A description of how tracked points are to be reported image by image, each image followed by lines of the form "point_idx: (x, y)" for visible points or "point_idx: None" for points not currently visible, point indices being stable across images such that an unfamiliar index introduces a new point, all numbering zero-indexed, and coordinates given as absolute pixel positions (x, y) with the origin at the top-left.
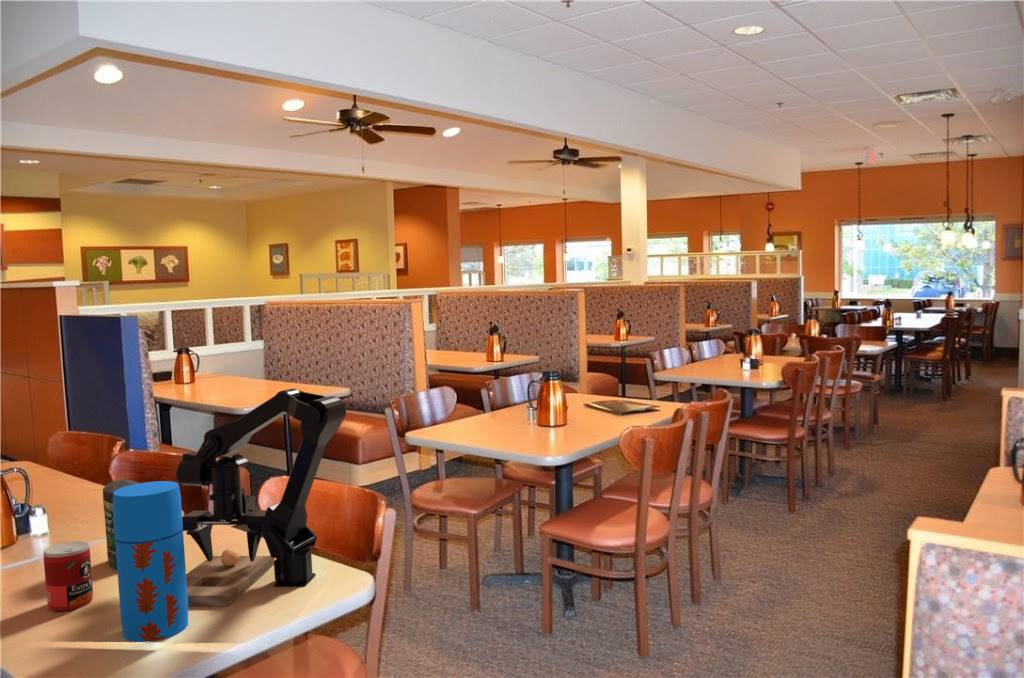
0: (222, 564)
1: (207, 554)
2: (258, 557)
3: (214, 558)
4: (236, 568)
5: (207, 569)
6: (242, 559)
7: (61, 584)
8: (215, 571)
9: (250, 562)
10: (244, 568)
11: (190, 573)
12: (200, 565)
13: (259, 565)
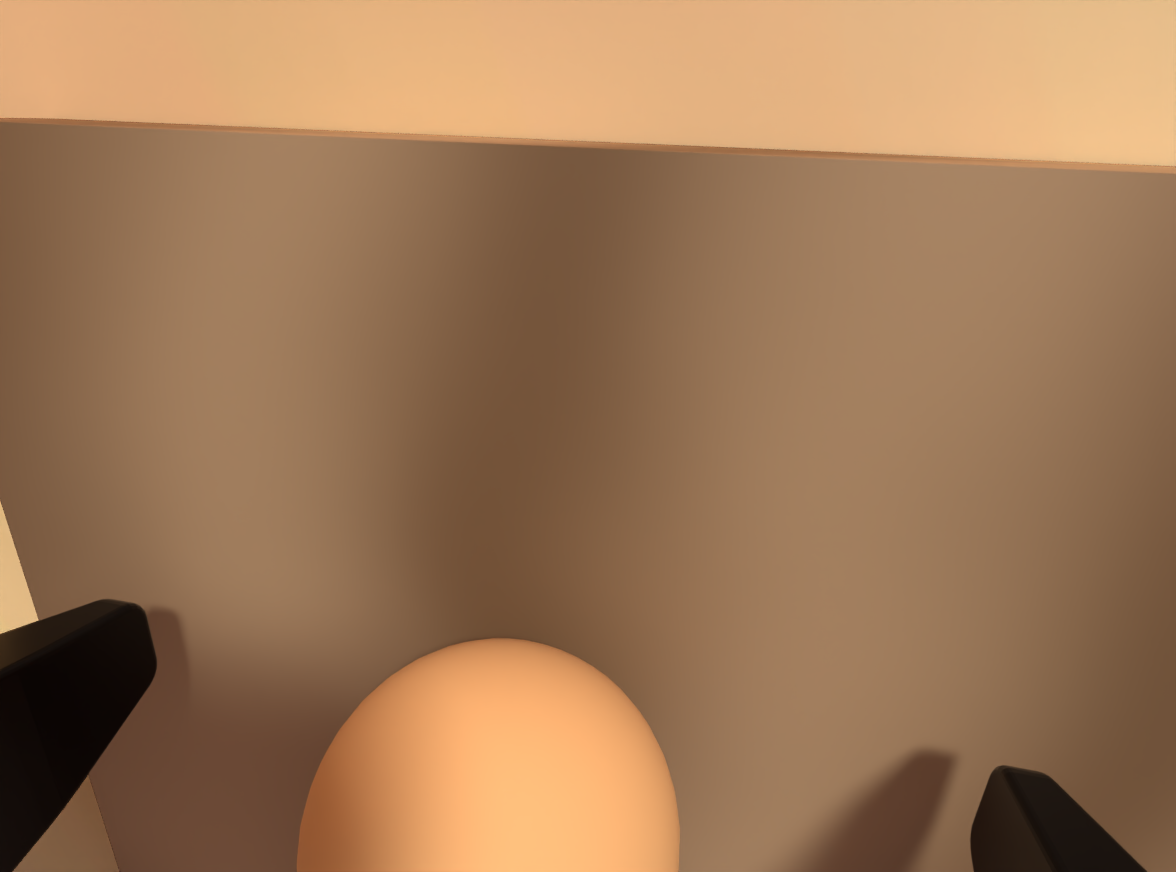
0: (376, 620)
1: (32, 839)
2: (1018, 298)
3: (37, 289)
4: (711, 834)
5: (272, 773)
6: (640, 404)
7: None
8: None
9: (890, 606)
10: (860, 866)
11: (150, 851)
12: (62, 605)
13: (1141, 796)
